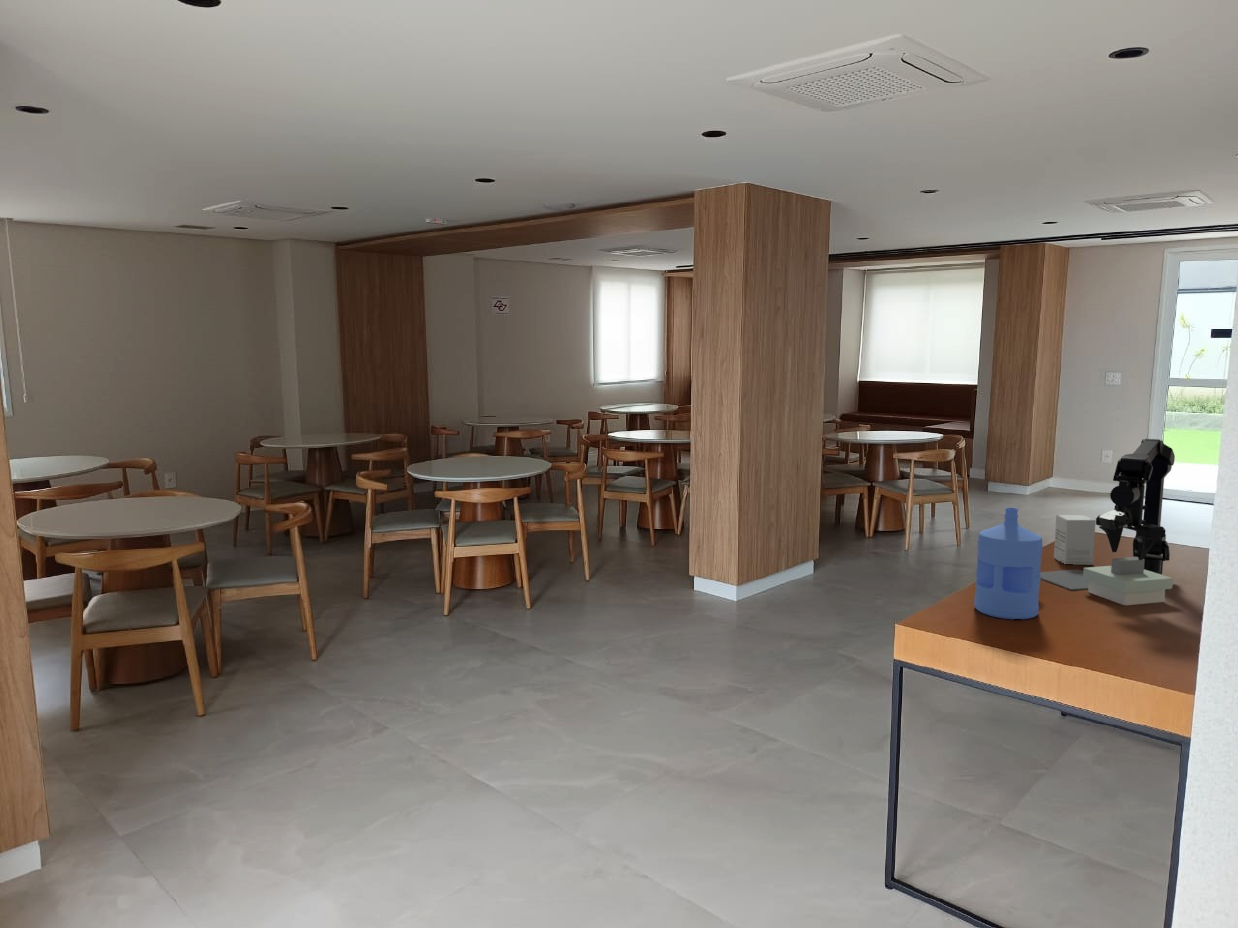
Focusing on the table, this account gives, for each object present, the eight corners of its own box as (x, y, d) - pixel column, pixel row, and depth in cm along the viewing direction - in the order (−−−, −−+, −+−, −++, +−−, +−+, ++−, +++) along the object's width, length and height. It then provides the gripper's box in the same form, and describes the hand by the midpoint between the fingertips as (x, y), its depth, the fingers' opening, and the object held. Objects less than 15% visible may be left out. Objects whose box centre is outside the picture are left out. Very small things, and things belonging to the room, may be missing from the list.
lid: (1127, 574, 243) (1129, 551, 242) (1172, 588, 229) (1174, 563, 228) (1082, 577, 240) (1084, 554, 239) (1125, 592, 225) (1127, 567, 224)
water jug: (987, 599, 234) (993, 501, 230) (1047, 611, 223) (1053, 508, 219) (964, 611, 223) (969, 509, 219) (1025, 624, 212) (1032, 517, 208)
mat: (1077, 570, 263) (1077, 569, 263) (1123, 586, 245) (1123, 584, 245) (1028, 574, 259) (1028, 573, 259) (1071, 590, 241) (1071, 589, 241)
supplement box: (1081, 558, 278) (1084, 514, 276) (1093, 565, 269) (1096, 519, 267) (1052, 557, 279) (1055, 514, 277) (1064, 564, 270) (1067, 519, 268)
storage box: (1126, 588, 243) (1127, 568, 242) (1164, 601, 230) (1165, 580, 229) (1088, 592, 240) (1089, 571, 239) (1124, 605, 227) (1126, 584, 226)
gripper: (1081, 496, 239) (1077, 549, 241) (1134, 508, 221) (1129, 566, 223) (1114, 495, 241) (1110, 547, 243) (1169, 506, 223) (1164, 563, 225)
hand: (1127, 555), depth 233 cm, fingers open, 9 cm apart
